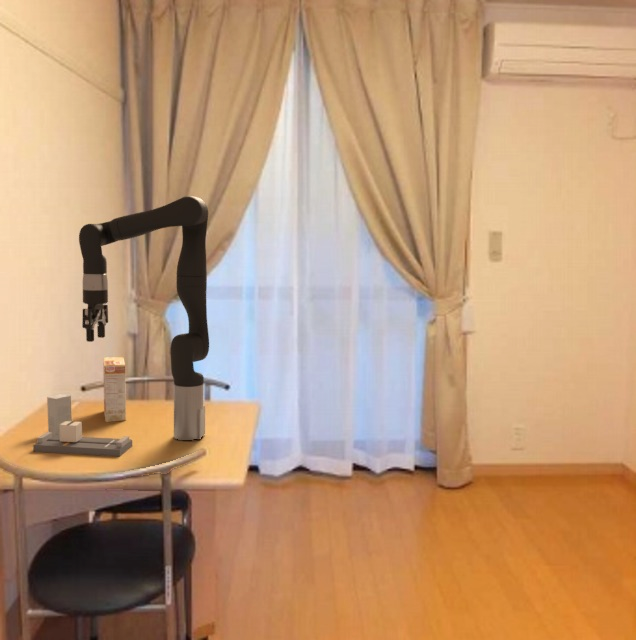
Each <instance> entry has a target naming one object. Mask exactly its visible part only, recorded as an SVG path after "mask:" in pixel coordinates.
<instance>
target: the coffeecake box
mask: <svg viewBox="0 0 636 640" xmlns="http://www.w3.org/2000/svg"><path fill="white" fill-rule="evenodd" d="M126 383H127V382H126V362H125V359H124V356H118V357H113V356H109V357H108V356H107V357H106V356H105V357H103V410H104V411H103V412H104V413H103V414H104V420H105V422H106V423H108V422H109V423H110V422H123V421H124V422H125V421H126V420H127V417H126V415H127V408H126V405H127V401H126V400H127V398H126V397H127V394H126V393H127V391H126Z"/></svg>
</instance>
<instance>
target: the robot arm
mask: <svg viewBox="0 0 636 640" xmlns="http://www.w3.org/2000/svg"><path fill="white" fill-rule="evenodd" d="M208 218H209V208H208V206H207V204H206V202H205V201H204V200H203V199H201V198H200V197H198V196H192V195H186V196H182V197H180V198H179V199H176V200H173V201H172V202H170V203H167V204H165V205H162V206H160V207H155V208H152V209H149V210H144V211H140V212H136V213H132V214H127V215H123V216H119V217H115V218H113V219H111V220H110V221H105V222H102V223H88V224H87V223H86V224H84V225H83V226H82V227H81V228H80V230H79V233H78V234H79V235H78V243H79V247H80V253H81V256H82V260H83V261H82V262H83V263H82V272H83V274H82V303H83V304H85V305H87V308H82V324H81V325H82V329H84V330H85V331H86V333H85V335H86V336H85V337H86V339H85V340H86V342H89V343H91V342H94V341H95V327H96V324H97V327H96V329H97V338H100V339H101V338H103V339H104V338H105V337H106V325H107V324H108V323H109V309H108V308H109V307H108V302H109V290H108V289H109V286H108V285H109V283H108V274H107V272H108V271H107V270H108V269H107V268H108V267H107V265H108V262H107V258H106V256H105V255H104V254H103V248H102V247H104V246H106V245H109V244H110V245H111V244H113V243H116V242H118V241H119V242H120V241H126V240H129V239H133V238H137V237H141V236H144V235H146V234H149V233H152V232H155V231H157V230H161V229H166V228H173V227H181V232H182V234H181V235H182V243H181V249H180V253H179V256H178V257H179V258H178V261H177V264H176V292H177V295H178V298H179V301H180V302H181V304H182V306H183V308H184V310H185V312H186V315H187V318H188V319H187V320H188V332H187V333H180V334H177V335H175V336H174V337H173V338H172V340H171V343H170V368H171V371H170V372H171V376H172V379H173V438H174V439H176V440H177V439H178V441H182V440H192V441H194V440H193V439H200V438H201V437H202V436H203V435H204V434H205V435H206V406H205V405H204V390H205V387H204V384H205V383H204V379H205V378H204V377H205V376H204V374H202V373H201V372H196V371H195V368H194V363H195V362H199V361H203V360H205V359H206V358H207V356H208V354H209V351H210V335H209V326H208V313H207V310H208V309H207V308H208V307H207V288H208V287H207V285H208V283H207V280H208V279H207V275H208V274H207V273H208V272H207V271H208V270H207V249H206V247H207V246H206V241H207V240H206V238H207V230H208V229H207V228H208V220H209V219H208ZM205 435H204V436H205ZM204 436H203V437H204Z"/></svg>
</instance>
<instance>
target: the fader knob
mask: <svg viewBox="0 0 636 640" xmlns="http://www.w3.org/2000/svg"><path fill="white" fill-rule="evenodd" d="M82 424H83V423H82V421H75V420H72V421H65V422H63V423H62V424H60V435H59V436H60V441H63V442H77V441H79V440H80V439H82V437H83V425H82Z"/></svg>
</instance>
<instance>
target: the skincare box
mask: <svg viewBox="0 0 636 640" xmlns="http://www.w3.org/2000/svg"><path fill="white" fill-rule="evenodd" d="M46 401H47V403H46V405H47V424H48V425H47V427H48V428H47V429H48V431H47V432H52V435H59V436H60V424H62V423H63V422H65V421H73V420H72V395H70V394H67V393H66V394H65V393H59V394H56V395H52V396H51V395H50V396H48V397H47V398H46Z"/></svg>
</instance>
